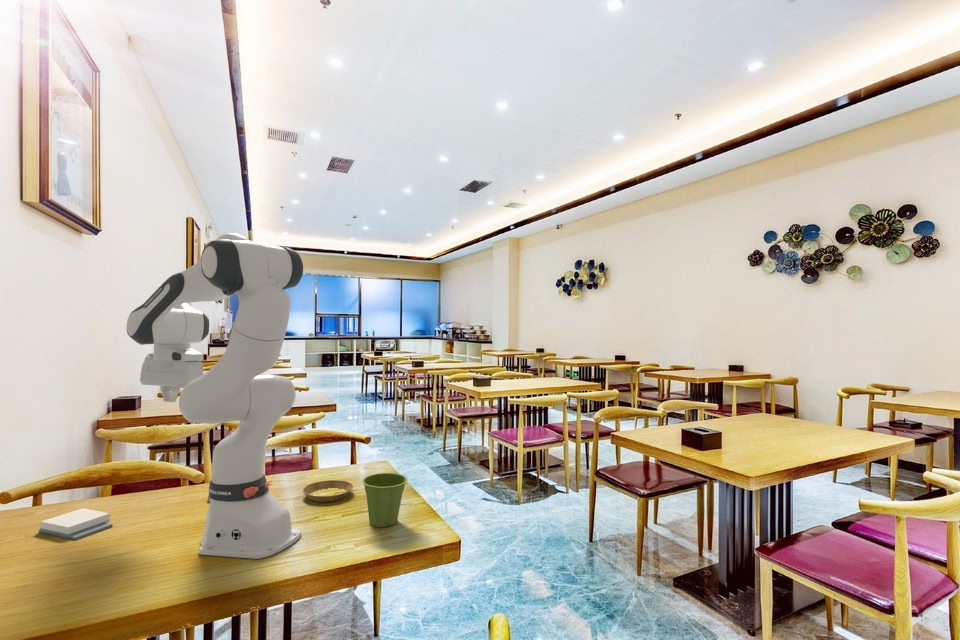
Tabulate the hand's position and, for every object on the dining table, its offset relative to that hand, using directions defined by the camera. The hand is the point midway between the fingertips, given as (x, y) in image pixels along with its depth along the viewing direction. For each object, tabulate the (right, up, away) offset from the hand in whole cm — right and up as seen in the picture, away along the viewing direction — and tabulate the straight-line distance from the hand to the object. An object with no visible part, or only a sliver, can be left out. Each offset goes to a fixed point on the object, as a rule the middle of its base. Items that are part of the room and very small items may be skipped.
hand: (169, 401), depth 129 cm
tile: (-10, -27, -14) cm, 31 cm away
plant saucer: (+43, -31, +8) cm, 54 cm away
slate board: (-10, -28, -19) cm, 35 cm away
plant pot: (+64, -30, -11) cm, 72 cm away
